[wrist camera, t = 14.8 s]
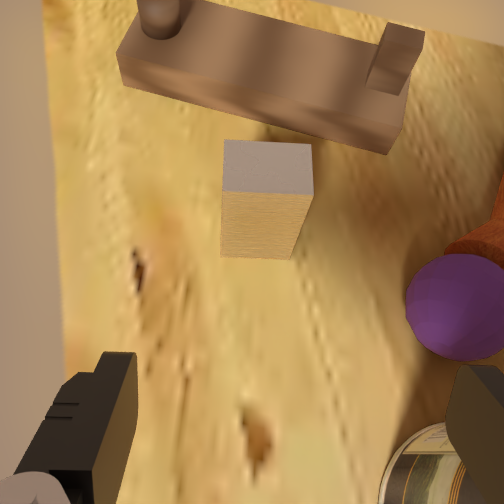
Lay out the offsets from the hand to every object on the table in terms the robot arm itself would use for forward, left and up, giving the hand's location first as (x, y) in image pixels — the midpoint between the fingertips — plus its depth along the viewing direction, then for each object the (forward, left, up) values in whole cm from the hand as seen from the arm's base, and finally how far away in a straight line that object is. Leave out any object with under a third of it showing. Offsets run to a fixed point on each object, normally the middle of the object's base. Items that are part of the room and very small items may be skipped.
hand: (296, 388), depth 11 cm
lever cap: (-7, -9, -15) cm, 19 cm away
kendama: (-20, -1, -16) cm, 25 cm away
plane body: (-15, -19, -15) cm, 29 cm away
